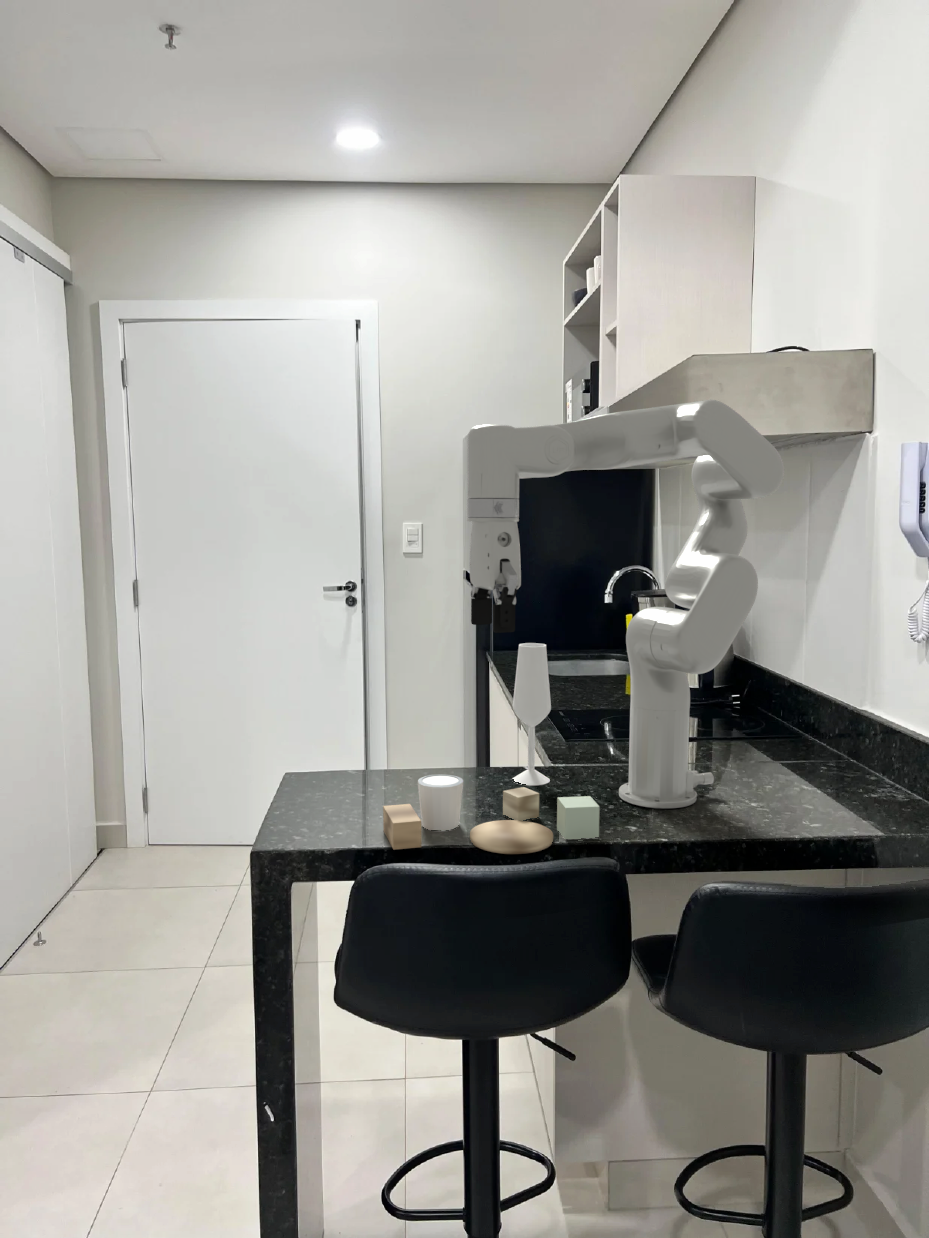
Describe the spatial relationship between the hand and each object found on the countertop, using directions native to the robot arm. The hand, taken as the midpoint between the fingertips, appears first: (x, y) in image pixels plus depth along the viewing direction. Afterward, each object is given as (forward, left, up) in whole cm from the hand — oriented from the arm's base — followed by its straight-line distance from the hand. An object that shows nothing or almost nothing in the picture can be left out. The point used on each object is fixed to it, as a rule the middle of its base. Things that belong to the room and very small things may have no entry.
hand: (492, 628), depth 139 cm
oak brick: (+14, +2, -30) cm, 33 cm away
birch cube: (-6, -2, -30) cm, 31 cm away
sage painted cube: (-11, +8, -30) cm, 33 cm away
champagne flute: (-15, -20, -30) cm, 39 cm away
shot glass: (+7, -2, -30) cm, 31 cm away
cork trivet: (-1, +7, -30) cm, 31 cm away
